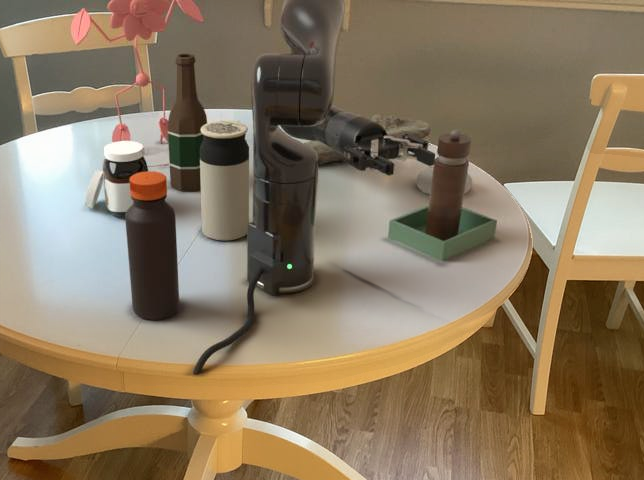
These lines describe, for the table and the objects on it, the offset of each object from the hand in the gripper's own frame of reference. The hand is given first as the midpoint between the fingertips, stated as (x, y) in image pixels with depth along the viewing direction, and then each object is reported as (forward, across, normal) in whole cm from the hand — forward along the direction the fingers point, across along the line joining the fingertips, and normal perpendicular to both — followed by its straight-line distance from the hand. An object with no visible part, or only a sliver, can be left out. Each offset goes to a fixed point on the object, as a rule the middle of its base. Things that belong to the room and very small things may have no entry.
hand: (413, 164), depth 140 cm
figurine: (-52, -25, +10) cm, 59 cm away
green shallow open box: (+9, 0, +10) cm, 13 cm away
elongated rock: (-33, +14, +10) cm, 37 cm away
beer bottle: (-34, -25, +10) cm, 43 cm away
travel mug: (-12, -29, +10) cm, 33 cm away
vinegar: (+6, -50, +10) cm, 52 cm away
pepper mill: (+9, 0, +10) cm, 13 cm away
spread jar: (-30, -41, +10) cm, 52 cm away
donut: (-7, +14, +10) cm, 19 cm away
